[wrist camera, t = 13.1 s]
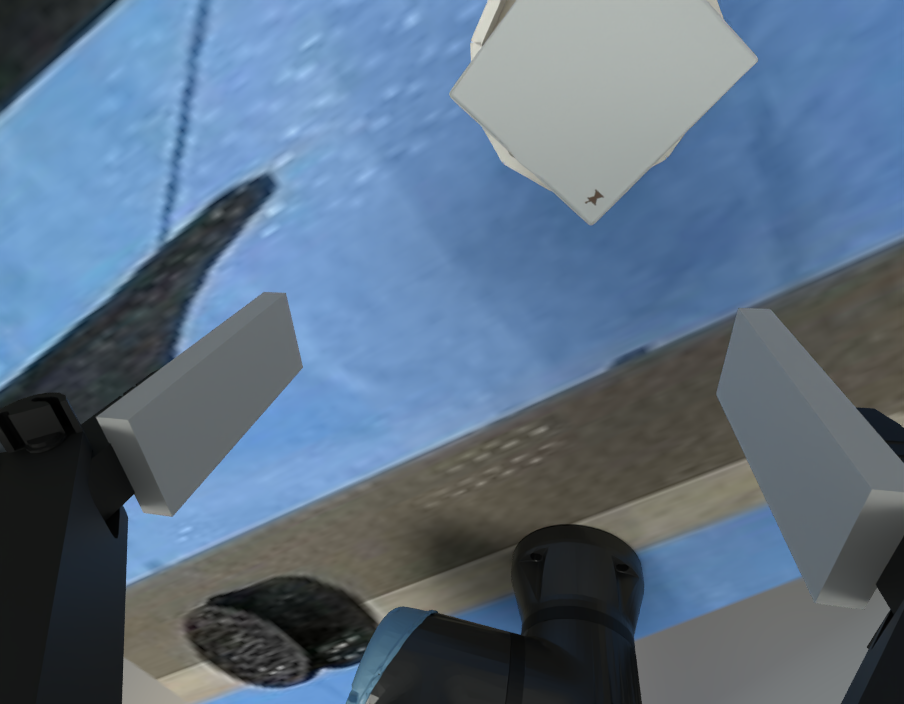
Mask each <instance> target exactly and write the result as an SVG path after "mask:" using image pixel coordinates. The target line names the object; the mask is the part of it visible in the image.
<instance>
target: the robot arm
mask: <svg viewBox="0 0 904 704" xmlns="http://www.w3.org/2000/svg"><path fill="white" fill-rule="evenodd" d="M302 368H303V366H302V361H301V357H300V353H299V348H298V344H297V340H296V335H295V331H294V326H293V322H292V318H291V313H290V309H289V305H288V300H287V296H286V293H272V292H264V293H262V294H261V295H260V296H258V297H257V298H255V299H254V300H253V301H251V302H250V303H249V304H247V305H246V306H245V307H243V308H242V309H241V310H239V311H238V312H237V313H235V314H234V315H233V316H231V317H230V318H229V319H227V320H226V321H224V322H223V323H222V324H220V325H219V326H218V327H216V328H215V329H214V330H212V331H211V332H210V333H208V334H207V335H206V336H204V337H203V338H202V339H200V340H199V341H198V342H196V343H195V344H194V345H192V346H191V347H189V348H188V349H187V350H185V351H184V352H183V353H181V354H180V355H179V356H177V357H176V358H175V359H173V360H172V361H171V362H169V363H168V364H167V365H165V366H164V367H163V368H161V369H159V370H157V371H155V372H152V373H151V374H149V375H148V376H147V377H145V378H144V379H142V380H141V381H140V382H138V383H137V384H136V387H132V388H130V389H129V390H127V391H126V392H125V393H123V396H119V397H118V398H117V399H115V400H114V401H113V402H111V403H110V404H108V405H107V406H106V407H104V408H103V409H102V410H100V411H99V412H98V413H96V414H95V415H93V416H92V417H91V418H89V419H88V420H87V421H85V422H84V423H83V424H80V423H79V421H78V419H77V417H76V415H75V413H74V411H73V409H72V407H71V405H70V403H69V401H68V399H67V398H66V396H65V395H63V394H61V393H43V394H37V395H33V396H30V397H26V398H23V399H20V400H18V401H16V402H13V403H11V404H9V405H7V406H5V407H3V408H2V409H0V442H1V443H2V445H3V447H4V448H5V450H6V451H7V452H2V453H0V704H122V684H123V682H122V681H123V654H124V624H125V594H126V564H127V534H128V516H127V513H126V511H125V509H124V507H123V504H124V503H125V502H126V501H127V500H128V499H129V498H130V497H131V496H132V495H133V494H134V495H135V497H136V499H137V501H138V503H139V505H140V507H141V509H142V511H143V513H148V514H156V515H163V516H171V517H173V515H174V514H175V513H176V512H177V511H178V510H179V509H180V507H181V506H182V505H183V504H184V503H185V502H186V501H187V499H188V498H189V497H190V496H191V495H192V494H193V493H194V491H195V490H196V489H197V488H198V487H199V486H200V485H201V483H202V482H203V481H204V480H205V479H206V478H207V477H208V475H209V474H210V473H211V472H212V471H213V470H214V469H215V467H216V466H217V465H218V464H219V463H220V462H221V461H222V459H223V458H224V457H225V456H226V455H227V454H228V453H229V451H230V450H231V449H232V448H233V447H234V446H235V445H236V443H237V442H238V441H239V440H240V439H241V438H242V437H243V435H244V434H245V433H246V432H247V431H248V430H249V429H250V427H251V426H252V425H253V424H254V423H255V422H256V421H257V419H258V418H259V417H260V416H261V415H262V414H263V413H264V411H265V410H266V409H267V408H268V407H269V406H270V405H271V403H272V402H273V401H274V400H275V399H276V398H277V397H278V395H279V394H280V393H281V392H282V391H283V390H284V389H285V387H286V386H287V385H288V384H289V383H290V382H291V381H292V379H293V378H294V377H295V376H296V375H297V374H298V373H299V371H300V370H301V369H302ZM716 395H717V397H718V399H719V401H720V403H721V405H722V408H723V410H724V412H725V414H726V416H727V418H728V420H729V422H730V425H731V427H732V429H733V431H734V433H735V435H736V437H737V439H738V441H739V444H740V446H741V448H742V450H743V452H744V454H745V456H746V458H747V461H748V463H749V465H750V467H751V469H752V471H753V473H754V475H755V477H756V480H757V482H758V484H759V486H760V488H761V490H762V492H763V494H764V497H765V499H766V501H767V503H768V505H769V507H770V509H771V511H772V514H773V516H774V518H775V520H776V522H777V524H778V526H779V528H780V530H781V533H782V535H783V537H784V539H785V541H786V543H787V545H788V547H789V550H790V552H791V554H792V556H793V558H794V560H795V562H796V564H797V566H798V569H799V571H800V573H801V575H802V577H803V579H804V581H805V583H806V585H807V588H808V590H809V592H810V594H811V596H812V598H813V600H814V602H815V603H818V604H825V605H833V606H840V607H847V608H855V609H862V610H863V609H864V608H865V607H866V605H867V603H868V602H869V600H870V598H871V597H872V595H873V593H874V591H875V590H876V588H878V589H879V591H880V592H881V594H882V596H883V597H884V599H885V601H886V602H887V604H888V606H889V607H890V611H889V613H888V614H887V616H886V617H885V619H884V620H883V622H882V624H881V625H880V627H879V629H878V630H877V632H876V633H875V635H874V636H873V638H872V640H871V641H870V643H869V645H868V646H867V648H868V649H869V650H868V652H867V654H866V656H865V658H864V660H863V661H862V664H861V665H860V667H859V669H858V671H857V673H856V675H855V677H854V679H853V681H852V683H851V685H850V687H849V689H848V691H847V693H846V695H845V697H844V699H843V701H842V703H841V704H904V428H903V427H902V426H901V425H900V424H898V423H897V422H895V421H893V420H892V419H890V418H889V417H887V416H885V415H884V414H882V413H880V412H879V411H877V410H876V409H871V408H856V407H855V406H854V405H853V404H852V403H851V402H850V401H849V399H848V398H847V397H846V396H845V395H844V394H843V392H842V391H841V390H840V389H839V388H838V387H837V386H836V384H835V383H834V382H833V381H832V380H831V379H830V377H829V376H828V375H827V374H826V373H825V372H824V371H823V369H822V368H821V367H820V366H819V365H818V364H817V362H816V361H815V360H814V359H813V358H812V357H811V356H810V354H809V353H808V352H807V351H806V350H805V349H804V347H803V346H802V345H801V344H800V343H799V342H798V341H797V339H796V338H795V337H794V336H793V335H792V334H791V332H790V331H789V330H788V329H787V328H786V327H785V326H784V324H783V323H782V322H781V321H780V320H779V319H778V317H777V316H776V315H775V314H774V313H773V312H772V310H771V309H754V308H738V311H737V315H736V319H735V323H734V327H733V331H732V335H731V339H730V342H729V346H728V350H727V354H726V358H725V362H724V366H723V370H722V373H721V377H720V381H719V385H718V389H717V393H716ZM511 578H512V584H513V588H514V592H515V597H516V601H517V605H518V609H519V613H520V617H521V621H522V632H521V635H519V634H515V633H511V632H507V631H503V630H500V629H496V628H492V627H488V626H485V625H481V624H477V623H473V622H470V621H466V620H462V619H458V618H455V617H451V616H447V615H444V614H440V613H438V612H437V611H435V610H429V611H424V610H419V609H414V608H409V607H398V608H395V609H393V610H392V611H390V612H389V613H388V614H387V615H386V616H385V617H384V618H383V620H382V621H381V623H380V624H379V626H378V627H377V629H376V631H375V632H374V634H373V636H372V638H371V640H370V642H369V644H368V646H367V648H366V650H365V653H364V655H363V657H362V660H361V662H360V664H359V667H358V669H357V672H356V675H355V677H354V680H353V683H352V690H351V692H350V694H349V697H348V699H347V702H346V704H642V701H641V692H640V684H639V676H638V668H637V660H636V654H635V644H634V633H635V629H636V624H637V620H638V616H639V611H640V607H641V603H642V598H643V594H644V580H643V573H642V567H641V563H640V561H639V559H638V557H637V555H636V554H635V553H634V551H633V550H632V549H631V548H630V547H629V546H628V545H626V544H625V543H624V542H622V541H621V540H619V539H618V538H616V537H614V536H612V535H610V534H608V533H605V532H603V531H600V530H596V529H592V528H588V527H582V526H555V527H549V528H545V529H542V530H539V531H536V532H534V533H532V534H530V535H528V536H527V537H525V538H524V539H523V540H522V541H521V542H520V543H519V544H518V546H517V547H516V549H515V551H514V554H513V559H512V569H511Z"/></svg>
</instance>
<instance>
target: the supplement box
mask: <svg viewBox="0 0 904 704" xmlns="http://www.w3.org/2000/svg"><path fill="white" fill-rule="evenodd" d="M757 62H758V58H757V56H756V55H755V54H754V53H753V52H752V50H751V49H750V48H749V47H748V46H747V45H746V44H745V43H744V42H743V40H742V39H741V38H740V37H739V36H738V35H737V34H736V33H735V31H734V30H733V29H732V28H731V27H730V26H729V25H728V24H727V23H726V21H725V20H724V19H723V18H722V17H721V16H720V15H719V14H718V12H717V11H716V10H715V9H714V8H713V7H712V6H711V5H710V4H709V2H708V1H707V0H516V1H515V2H514V4H513V5H512V7H511V8H510V9H509V11H508V12H507V13H506V15H505V16H504V18H503V19H502V20H501V22H500V23H499V24H498V26H497V27H496V28H495V30H494V31H493V32H492V34H491V35H490V36H489V38H488V39H487V41H486V42H485V43H484V45H483V46H482V47H481V49H480V50H479V51H478V53H477V54H476V56H475V57H474V58H473V60H472V61H471V63H470V64H469V65H468V67H467V68H466V70H465V71H464V72H463V74H462V75H461V76H460V78H459V79H458V81H457V82H456V83H455V85H454V86H453V88H452V89H451V91H450V93H449V95H450V97H451V98H452V100H454V101H455V102H456V103H457V104H458V105H459V106H460V107H461V108H462V109H463V110H464V111H465V112H466V113H467V114H469V115H470V116H471V117H472V118H473V119H474V120H475V121H476V122H477V123H478V124H479V125H481V126H482V127H483V128H484V129H485V130H486V131H487V132H488V133H489V134H490V135H491V136H493V137H494V138H495V139H496V140H497V141H498V142H499V143H500V144H501V145H502V146H503V147H504V148H506V149H507V150H508V151H509V152H510V153H511V154H512V155H513V156H514V157H515V158H516V160H517V161H518V162H519V163H520V164H522V165H523V166H524V167H525V168H526V169H528V170H529V171H530V172H532V173H533V174H534V175H535V176H536V177H537V178H538V179H539V180H540V181H541V182H543V183H544V184H545V185H546V186H547V187H548V188H549V189H550V190H551V191H552V192H554V193H555V194H556V195H557V196H558V197H559V198H560V199H561V200H562V201H563V202H564V203H565V204H567V205H568V206H569V207H570V208H571V209H572V210H573V211H574V212H575V213H576V214H577V215H579V216H580V217H581V218H582V219H583V220H584V221H585V222H586V223H588V224H589V225H593V224H595V223H596V222H597V221H598V220H599V219H600V218H601V217H602V216H603V215H604V214H605V213H606V212H607V211H608V210H609V209H610V208H611V207H612V206H613V205H614V204H615V203H616V202H617V201H618V200H619V199H620V198H621V197H622V196H623V195H624V194H625V193H626V192H627V191H628V190H629V189H630V188H631V187H632V186H633V185H634V184H635V183H636V182H637V181H638V180H639V179H640V178H641V177H642V176H643V175H644V174H645V173H646V172H647V171H648V170H649V169H650V168H651V167H652V166H653V165H654V164H655V163H656V162H657V161H658V160H659V159H660V158H661V157H662V156H663V155H664V154H665V153H666V152H667V151H668V150H669V149H670V148H671V147H672V146H673V145H674V144H675V143H676V142H677V141H678V140H679V139H680V138H681V137H682V136H683V135H684V134H685V133H686V132H687V131H688V130H689V129H690V128H691V127H692V126H693V125H694V124H695V123H696V122H697V121H698V120H699V119H700V118H701V117H702V116H703V115H704V114H705V113H706V112H707V111H708V110H709V109H710V108H711V107H712V106H713V105H714V104H715V103H716V102H717V101H718V100H719V99H720V98H721V97H722V96H723V95H724V94H725V93H726V92H727V91H728V90H729V89H730V88H731V87H732V86H733V85H734V84H735V83H736V82H737V81H738V80H739V79H740V78H741V77H742V76H743V75H744V74H745V73H746V72H747V71H748V70H749V69H750V68H751V67H752V66H754V65H755V64H756V63H757Z"/></svg>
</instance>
